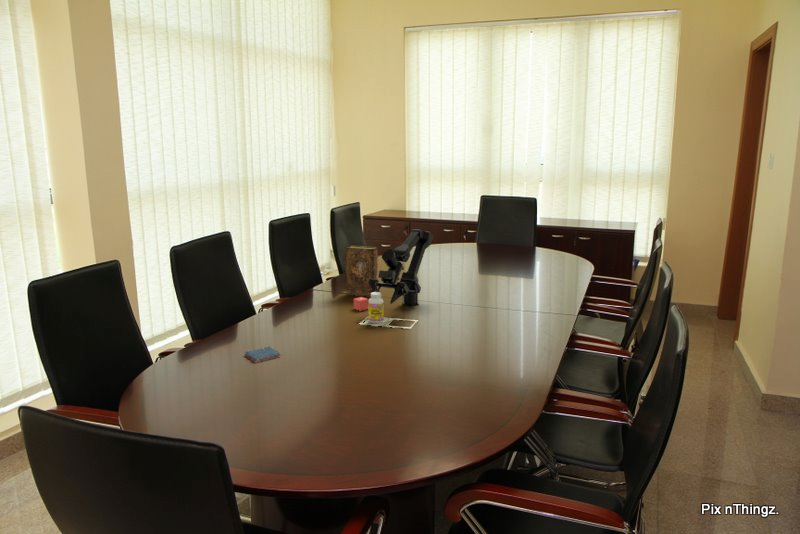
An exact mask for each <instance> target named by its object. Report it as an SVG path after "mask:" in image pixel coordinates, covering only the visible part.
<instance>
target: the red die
mask: <svg viewBox="0 0 800 534" xmlns="http://www.w3.org/2000/svg"><path fill="white" fill-rule="evenodd" d="M368 302H369V298H368V297H363V296H359V297H356V298H353V310H355V309H356V310H355V311H358V310H359V311H358V312H363V311H367V310H366V309H368V310H369V304H368ZM362 310H363V311H362Z"/></svg>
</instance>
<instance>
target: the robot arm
mask: <svg viewBox="0 0 800 534" xmlns="http://www.w3.org/2000/svg"><path fill="white" fill-rule="evenodd" d="M433 240H434V234H433V233H432V232H431V231H427V230H422V229H417V228H416V229H415V228H413V229H411V230H410V234H409V235H408V237H406V239H405V240H404V242H403V243H402V244H401V245H399V246H395V248H390V247H389V248H388V249H387V250H385V251H384V252H383V253H382V254H381V259H382V260H383V262H384V264H385V265H386V267H388V269H387V270H381V269H380V270H378V271H379V272H378V279H380V280H381V282H380V281H379V280H377V279H369V281H368V284H369V286H370V287H371V288H372V292H380V290H381V288H387V289H393V291H394V292H393V294H392V296H391V299H390V304H391V305H392V304H393V303H395V302H396V301H397V300H398V299H400V297H402V304H403V305H404V304H405V306H406V307H410V306H412V305H413V306H420V303H419V297H418V294H420V292H421V288H422V287H421V284H419V276H418V272H419V271H420V267H421V263H422V261H423V258H424V255H425V252H426V249H427V248H429V247H430V246H431V243H432V242H433ZM413 248H414V251H413V254H412V257H411V251H412V250H413ZM410 257H411V260H410V263H409V266H408V269H407V271H404V270H405V267H404V265H403V263H407V262H408V260H409V259H410ZM402 271H404V272H402ZM400 274H401V276H400ZM399 276H400V277H399Z"/></svg>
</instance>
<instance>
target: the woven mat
mask: <svg viewBox="0 0 800 534" xmlns="http://www.w3.org/2000/svg"><path fill="white" fill-rule="evenodd" d="M244 356H245V357H246V358H248V359H250V361H252V362H253V363H255V364H257V363H260V362H265V361H268V360H273V359H277V358H280V357H281V354H280V352H278V350H276V349H274V348H273V347H271V346H267V347H266V346H265V347H262V348H257V349H252V350H249V351H245V353H244Z"/></svg>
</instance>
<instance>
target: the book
mask: <svg viewBox="0 0 800 534" xmlns="http://www.w3.org/2000/svg"><path fill="white" fill-rule="evenodd" d="M344 253H345V255H344V257H345V258H344V259H345V267H344V268H345V294H346V295H347V296H353V295H355V296H356V297H363V296H366V297H365V298H371V293H372V288H371V287H370V286H369V284H368V281H369V279H377V280H378V279H379V278H378V276H379V272H378V271H379V270H378V269H379V268H378V267H379V266H378V265H379V264H378V263H379V262H378V261H379V260H378V247H376V246H363V245H350V246H349V247H348V246H346V247H345V248H344ZM378 281H379V280H378ZM355 296H354V297H355Z"/></svg>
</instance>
